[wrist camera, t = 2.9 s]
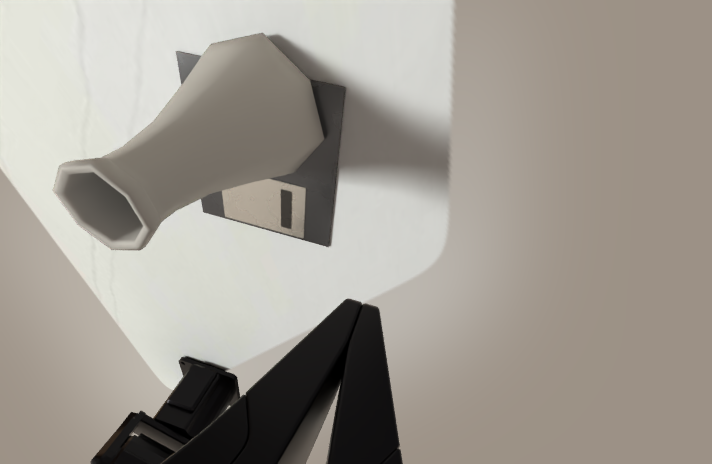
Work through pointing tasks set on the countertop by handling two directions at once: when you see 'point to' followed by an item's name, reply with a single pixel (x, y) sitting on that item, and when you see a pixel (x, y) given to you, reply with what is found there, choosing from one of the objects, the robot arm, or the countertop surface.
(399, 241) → the countertop surface
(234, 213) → the floppy disk
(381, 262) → the countertop surface
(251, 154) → the flask
